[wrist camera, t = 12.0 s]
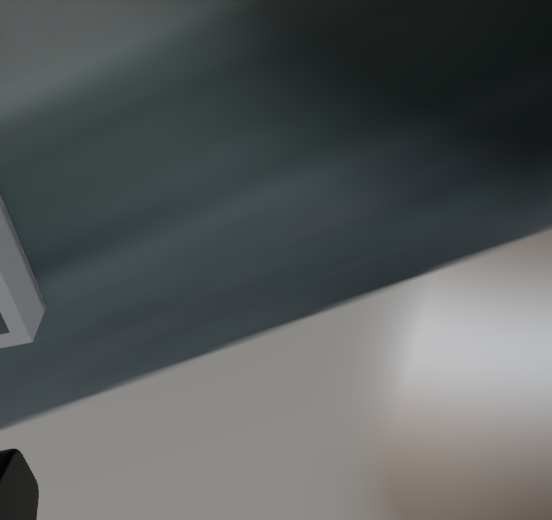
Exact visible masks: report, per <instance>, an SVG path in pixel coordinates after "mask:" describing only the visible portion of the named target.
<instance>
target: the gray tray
mask: <svg viewBox="0 0 552 520" xmlns="http://www.w3.org/2000/svg"><path fill="white" fill-rule="evenodd" d="M46 307H47V306H46V303H45V301H44V299H43V296H42V294H41V291H40V289H39V287H38V284H37V282H36V279H35V277H34V274H33V272H32V270H31V267H30V265H29V262H28V260H27V257H26V255H25V253H24V250H23V248H22V245H21V243H20V241H19V238H18V236H17V233H16V231H15V228H14V226H13V224H12V221H11V219H10V216H9V214H8V212H7V209H6V207H5V204H4V202H3V199H2V197H1V195H0V348H4V347H9V346H15V345H20V344H26V343H31V342H33V339H34V337H35V334H36V332H37V329H38V327H39V324H40V322H41V319H42V317H43V314H44V312H45V309H46Z"/></svg>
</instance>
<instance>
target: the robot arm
mask: <svg viewBox="0 0 552 520" xmlns="http://www.w3.org/2000/svg"><path fill="white" fill-rule="evenodd" d="M38 498H39V490H38V484H37V481H36V479H35V477H34V475H33V473H32V471H31V470H30V468H29V466H28V464H27V462H26V460H25V459H24V457H23V455H22V454H21V452H20V451H19V450H17V449H8V450H3V451H0V520H36V518H37V507H38Z"/></svg>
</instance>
